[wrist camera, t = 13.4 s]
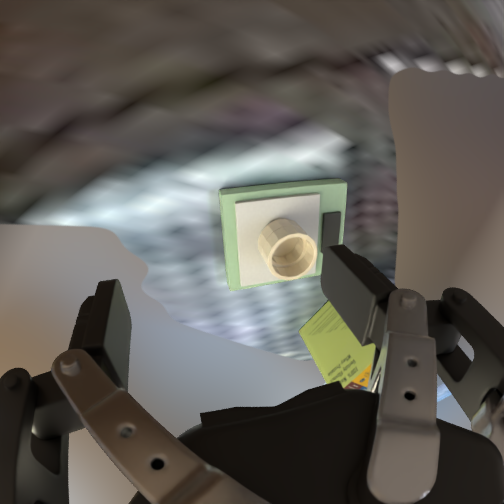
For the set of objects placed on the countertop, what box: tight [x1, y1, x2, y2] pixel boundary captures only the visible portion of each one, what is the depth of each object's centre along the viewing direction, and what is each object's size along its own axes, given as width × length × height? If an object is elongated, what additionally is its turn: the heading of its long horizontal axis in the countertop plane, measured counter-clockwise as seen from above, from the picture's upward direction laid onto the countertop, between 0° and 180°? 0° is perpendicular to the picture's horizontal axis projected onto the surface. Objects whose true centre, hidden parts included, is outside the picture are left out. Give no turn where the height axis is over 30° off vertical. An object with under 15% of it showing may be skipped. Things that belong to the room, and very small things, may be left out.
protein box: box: [299, 301, 376, 390], centre depth 48 cm, size 10×15×16 cm
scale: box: [219, 178, 347, 291], centre depth 42 cm, size 14×17×3 cm
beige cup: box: [258, 219, 318, 280], centre depth 39 cm, size 6×6×5 cm
